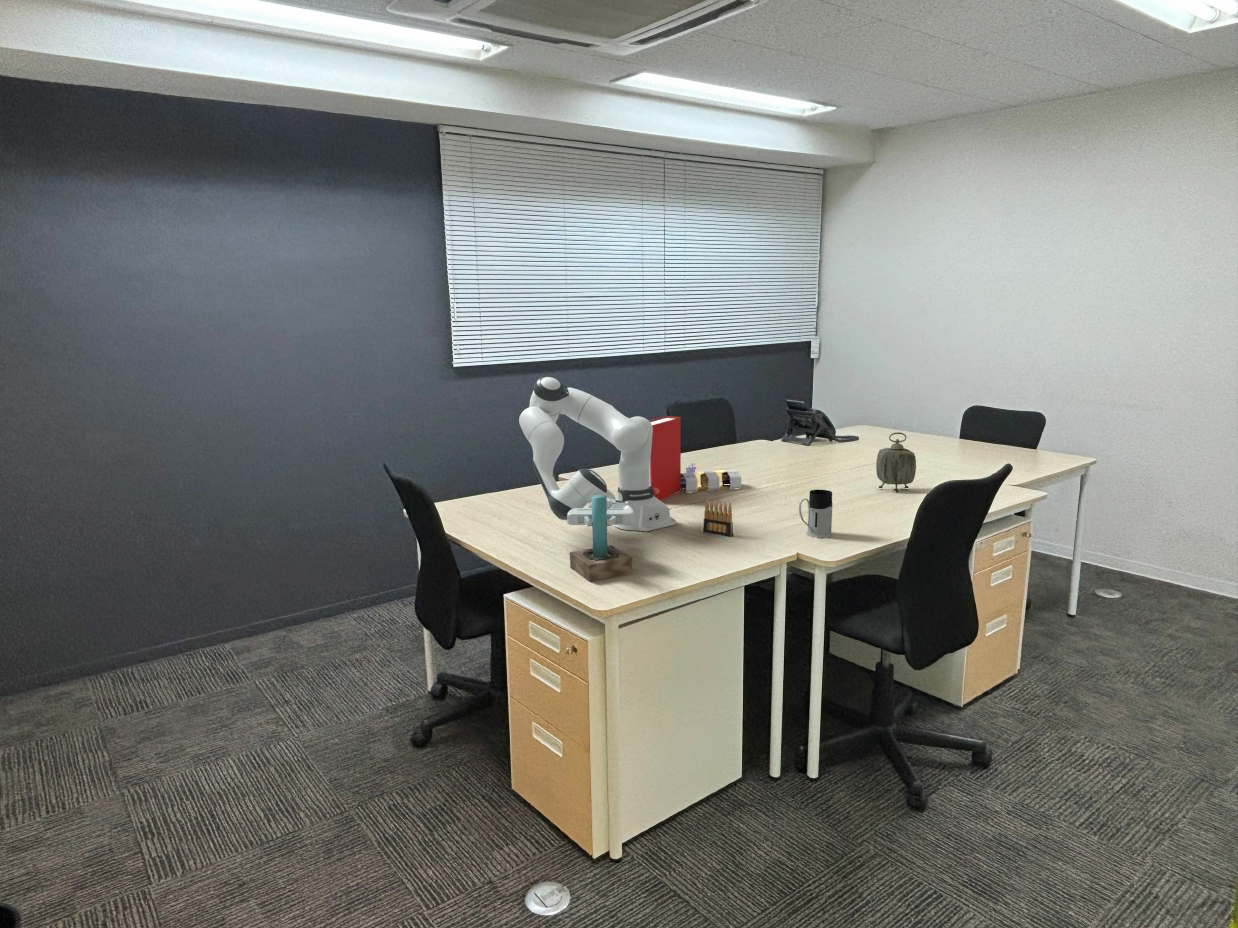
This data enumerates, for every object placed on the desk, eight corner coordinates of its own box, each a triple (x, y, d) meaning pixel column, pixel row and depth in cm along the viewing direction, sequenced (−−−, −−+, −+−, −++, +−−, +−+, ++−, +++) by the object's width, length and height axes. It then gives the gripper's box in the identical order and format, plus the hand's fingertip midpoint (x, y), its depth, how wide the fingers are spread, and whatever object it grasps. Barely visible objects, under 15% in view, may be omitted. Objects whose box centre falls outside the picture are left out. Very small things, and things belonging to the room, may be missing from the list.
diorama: (686, 494, 326) (686, 464, 323) (678, 489, 336) (678, 459, 333) (741, 490, 332) (741, 460, 329) (732, 485, 342) (732, 456, 339)
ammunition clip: (733, 535, 264) (733, 501, 262) (730, 537, 263) (731, 502, 261) (705, 531, 270) (705, 498, 268) (703, 532, 269) (703, 499, 267)
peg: (603, 552, 233) (602, 494, 229) (610, 556, 229) (609, 497, 225) (590, 554, 231) (589, 496, 227) (596, 558, 227) (595, 499, 223)
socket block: (611, 560, 240) (611, 544, 239) (632, 573, 228) (632, 556, 227) (570, 567, 234) (569, 551, 233) (589, 581, 222) (589, 564, 221)
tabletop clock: (909, 488, 328) (913, 430, 323) (915, 493, 319) (919, 434, 314) (874, 488, 330) (877, 430, 325) (879, 493, 321) (882, 434, 316)
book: (651, 504, 309) (651, 425, 303) (634, 501, 313) (633, 424, 307) (682, 490, 332) (682, 416, 326) (665, 488, 336) (665, 415, 330)
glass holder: (838, 535, 263) (839, 492, 260) (808, 542, 255) (809, 498, 252) (818, 529, 270) (820, 487, 267) (789, 536, 263) (790, 493, 260)
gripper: (568, 502, 240) (564, 513, 227) (633, 501, 240) (633, 512, 226) (568, 521, 242) (564, 534, 228) (633, 521, 241) (633, 533, 227)
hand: (599, 523), depth 227 cm, fingers closed on peg, 4 cm apart
